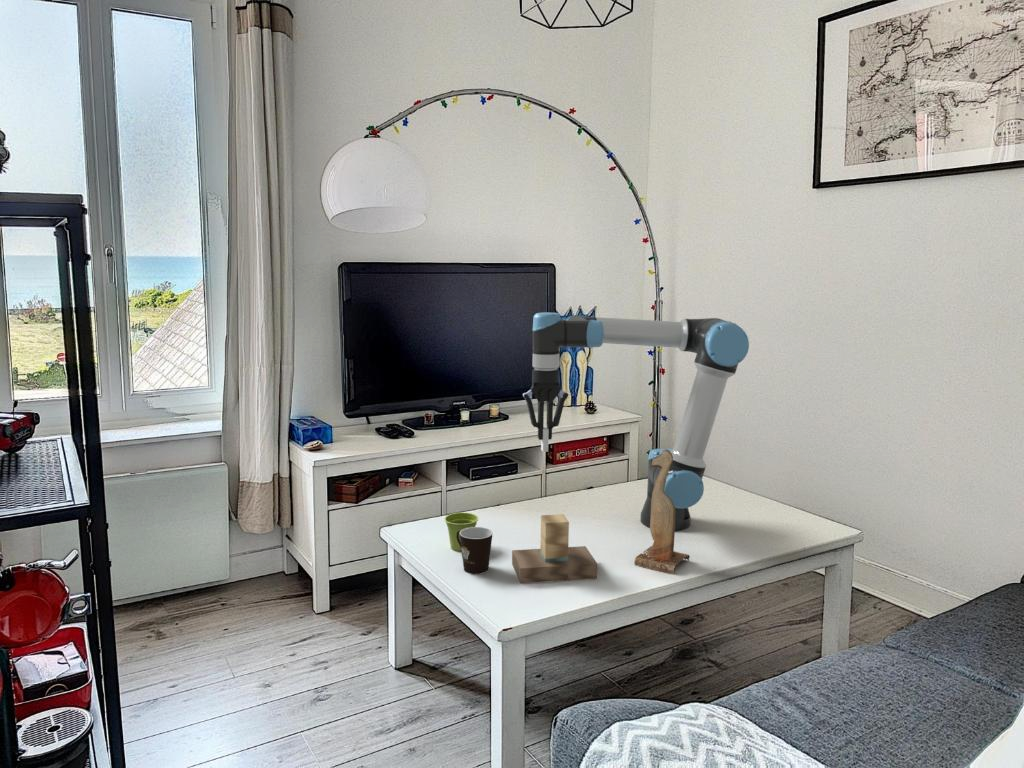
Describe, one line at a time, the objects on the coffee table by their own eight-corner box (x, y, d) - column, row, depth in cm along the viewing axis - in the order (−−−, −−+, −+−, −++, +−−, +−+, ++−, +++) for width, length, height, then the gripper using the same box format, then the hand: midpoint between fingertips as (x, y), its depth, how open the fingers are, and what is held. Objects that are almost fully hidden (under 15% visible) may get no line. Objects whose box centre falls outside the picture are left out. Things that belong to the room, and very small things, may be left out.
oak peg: (562, 564, 208) (563, 514, 205) (568, 574, 202) (569, 522, 200) (540, 565, 207) (540, 515, 204) (544, 575, 201) (545, 523, 199)
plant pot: (474, 555, 215) (474, 524, 213) (440, 552, 217) (440, 522, 215) (481, 542, 224) (481, 513, 222) (449, 540, 226) (449, 511, 224)
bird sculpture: (649, 553, 218) (649, 441, 213) (690, 560, 212) (691, 445, 207) (633, 567, 209) (634, 450, 203) (676, 575, 203) (677, 455, 197)
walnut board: (585, 560, 212) (585, 546, 211) (597, 578, 200) (597, 563, 200) (512, 564, 209) (512, 550, 208) (520, 583, 197) (520, 568, 196)
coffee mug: (496, 573, 203) (496, 537, 201) (463, 577, 200) (463, 540, 199) (485, 556, 214) (485, 521, 212) (453, 560, 211) (453, 524, 210)
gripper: (565, 365, 223) (563, 446, 227) (520, 366, 221) (519, 448, 225) (571, 370, 216) (570, 453, 220) (525, 370, 214) (524, 454, 218)
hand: (544, 450), depth 222 cm, fingers closed
